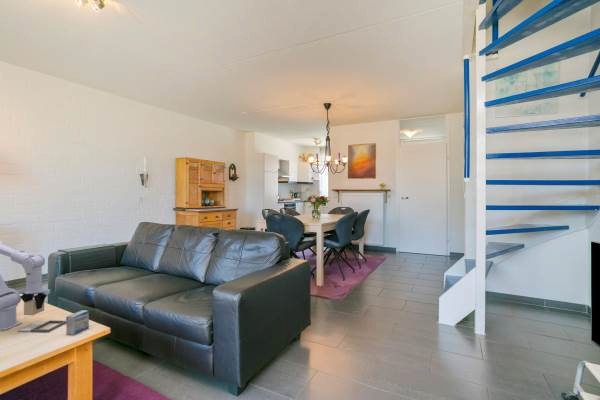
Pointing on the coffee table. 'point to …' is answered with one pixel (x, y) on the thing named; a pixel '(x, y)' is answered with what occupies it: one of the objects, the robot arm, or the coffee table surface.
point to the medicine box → (77, 322)
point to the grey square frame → (37, 329)
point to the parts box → (32, 308)
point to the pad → (31, 327)
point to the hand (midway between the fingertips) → (34, 308)
